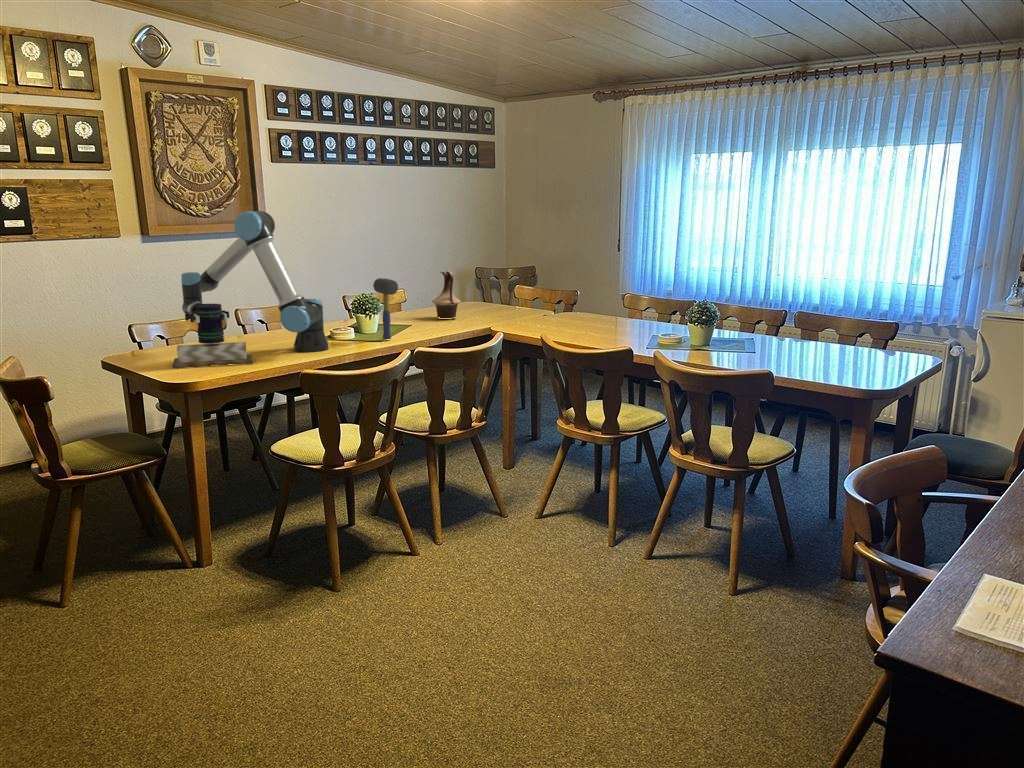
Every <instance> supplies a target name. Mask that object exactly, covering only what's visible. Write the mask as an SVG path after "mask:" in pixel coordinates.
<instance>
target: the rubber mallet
mask: <svg viewBox="0 0 1024 768" xmlns="http://www.w3.org/2000/svg"><path fill="white" fill-rule="evenodd" d="M372 287H373V290H374V291H375V292H376V293H380V294H382V296H383V297H382V298H383V299H382V303H383V304H382V305H383V306H382V308H383V310H382V326H383V327H382V328H383V329H382V331H383V333H382V338H383V340H384V339H390V340H391V339H392V334H391V322H392V321H391V313H390V307H389V305H390V303H389V302H390V301H389V295H391V296H392V295H395V294H396V293H397V292H398V291H399V284H398V283H397V281H396V280H393V279H390V278H385V277H384V278H382V277H381V278H377V279H375V280H374V281H373V285H372Z"/></svg>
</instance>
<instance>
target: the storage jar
mask: <svg viewBox="0 0 1024 768" xmlns="http://www.w3.org/2000/svg"><path fill="white" fill-rule="evenodd" d="M222 307H223V306H222V303H221V304H220V303H202V304H198V305H196V311H197V312H196V315H198V316H199V319H200V323H197V337H198V343H199V344H216V343H225V339H224V338H225V337H224V335H225V333H224V326H223V320H222V317H223V316H222V311H223V309H222ZM221 310H222V311H221Z"/></svg>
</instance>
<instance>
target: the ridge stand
mask: <svg viewBox="0 0 1024 768" xmlns="http://www.w3.org/2000/svg"><path fill="white" fill-rule="evenodd" d="M176 353H177V357H175V358H174V359H173V362H172V364H171V365H172V366H171V368H177V369H186V368H185V367H194V368H200V367H199V366H211V365H228V364H246V365H250V364H249V363H253V356H252V354H251V353H250V354H249V353H247V342H245V341H243V342H242V341H240V342H239V341H238V342H221V343H213V344H204V343H199V344H178V345H176ZM228 366H229V365H228ZM211 367H212V366H211Z"/></svg>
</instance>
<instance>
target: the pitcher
mask: <svg viewBox="0 0 1024 768" xmlns="http://www.w3.org/2000/svg"><path fill="white" fill-rule="evenodd" d="M440 273H441V274H442V275H443V279H444V282H443V289H442V291H441V292H440V294H439V295H438V296H437V297H436V298H434V299H432V301H431V303H434V305H435V309H436V316H437V317H440V318H453V317H456V318H457V310H458V306H459V303H461V302H462V301H461V300H460V299H459V298H457V296H456V295H455V294H454V293H453V285H454V275H455V274H454V273H453V272H452V271H450V270H446V271H440ZM437 317H436V318H437Z"/></svg>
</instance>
